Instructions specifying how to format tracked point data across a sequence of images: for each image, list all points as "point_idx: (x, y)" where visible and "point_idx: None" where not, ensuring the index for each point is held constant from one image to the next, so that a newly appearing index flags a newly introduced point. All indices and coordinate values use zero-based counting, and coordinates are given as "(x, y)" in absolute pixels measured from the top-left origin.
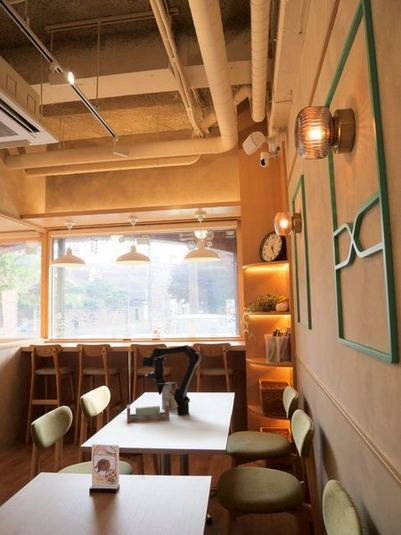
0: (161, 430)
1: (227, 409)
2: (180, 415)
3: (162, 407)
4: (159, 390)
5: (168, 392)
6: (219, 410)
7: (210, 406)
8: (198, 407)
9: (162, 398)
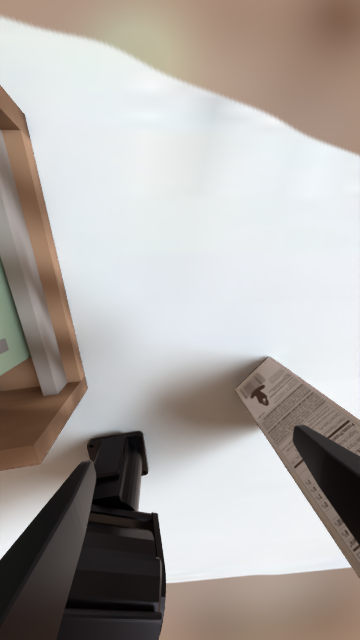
0: None
1: (179, 579)
2: (88, 446)
3: (271, 360)
4: (11, 573)
5: (305, 492)
6: (169, 561)
7: (244, 531)
8: (240, 497)
9: (310, 392)
